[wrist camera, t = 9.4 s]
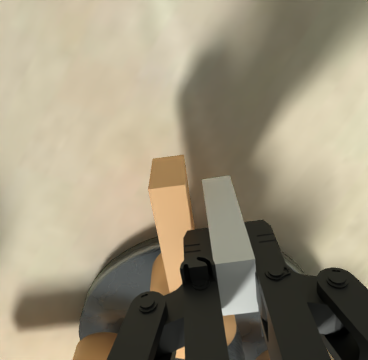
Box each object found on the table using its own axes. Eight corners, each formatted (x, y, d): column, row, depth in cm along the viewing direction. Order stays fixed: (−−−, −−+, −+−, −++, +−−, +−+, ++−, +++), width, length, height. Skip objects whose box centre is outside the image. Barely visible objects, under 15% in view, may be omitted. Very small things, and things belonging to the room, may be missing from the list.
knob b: (228, 295, 23) (240, 361, 19) (158, 303, 24) (154, 370, 19) (213, 144, 18) (224, 189, 14) (124, 156, 18) (108, 203, 14)
